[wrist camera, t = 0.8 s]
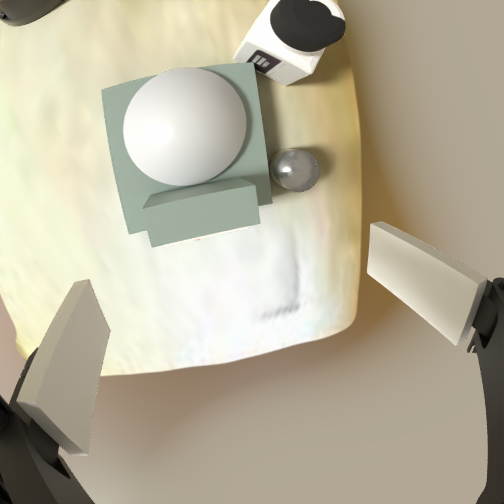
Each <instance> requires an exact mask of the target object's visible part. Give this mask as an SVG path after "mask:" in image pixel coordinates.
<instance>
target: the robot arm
mask: <svg viewBox="0 0 504 504" xmlns="http://www.w3.org/2000/svg"><path fill="white" fill-rule="evenodd" d="M62 1H63V0H0V20H1V21H3V22H4V23H6V24H8V25H10V26H21V25H25V24H28V23H30V22H33V21H35V20H37V19H38V18H40V17H42V16H43V15H45V14H47V13H48V12H50V11H51V10H52V9H54V8H55V7H56V6H57V5H59V4H60V3H61V2H62ZM367 273H368V274H369V275H370V276H371V277H373V278H374V279H376V280H377V281H378V282H379V283H381V284H382V285H383V286H384V287H386V288H387V289H388V290H389V291H391V292H392V293H393V294H394V295H396V296H397V297H398V298H399V299H401V300H402V301H403V302H404V303H406V304H407V305H408V306H409V307H411V308H412V309H413V310H414V311H415V312H417V313H418V314H419V315H420V316H421V317H423V318H424V319H425V320H426V321H427V322H429V323H430V324H431V325H432V326H433V327H435V328H436V329H437V330H438V331H439V332H441V333H442V334H443V335H444V336H445V337H446V338H447V339H449V340H450V341H451V342H452V343H453V344H454V345H455V346H457V345H458V344H460V343H461V342H463V341H464V340H465V339H467V336H468V334H469V331H470V329H471V327H472V326H473V327H474V328H475V329H476V330H475V333H474V335H473V337H472V340H471V342H470V344H469V346H468V348H467V352H470V350H471V348H472V346H474V345H475V347H474V349H473V352H472V353H477V355H478V360H479V365H480V370H481V376H482V383H483V389H484V397H485V406H486V417H487V434H488V468H487V482H486V486H485V489H484V491H483V492H482V494H481V495H480V497H479V498H478V500H477V503H476V504H504V278H496V279H494V280H493V283H492V282H490V281H489V280H488V278H487V277H485V276H483V275H481V274H480V273H478V272H477V271H475V270H473V269H471V268H470V267H468V266H466V265H464V264H463V263H461V262H460V261H458V260H456V259H454V258H452V257H451V256H449V255H447V254H445V253H443V252H442V251H440V250H438V249H436V248H434V247H432V246H430V245H429V244H426V243H425V242H423V241H421V240H419V239H417V238H415V237H413V236H411V235H409V234H407V233H405V232H403V231H401V230H399V229H397V228H395V227H393V226H391V225H389V224H387V223H384V222H382V221H381V222H376V223H371V227H370V243H369V257H368V268H367ZM110 331H111V330H110V328H109V326H108V324H107V322H106V319H105V317H104V315H103V312H102V310H101V308H100V305H99V303H98V300H97V298H96V296H95V293H94V290H93V288H92V285H91V283H90V280H89V279H88V280H83V281H78V282H75V283H74V284H73V286H72V288H71V289H70V291H69V293H68V294H67V296H66V298H65V299H64V301H63V303H62V305H61V306H60V308H59V310H58V312H57V313H56V315H55V317H54V319H53V321H52V323H51V325H50V326H49V328H48V330H47V332H46V334H45V336H44V338H43V340H42V342H41V344H40V346H39V348H36V349H35V351H34V352H33V353H32V354H31V355H30V356H29V358H28V360H27V362H26V364H25V367H24V368H25V369H23V371H22V373H21V378H19V380H18V383H17V385H16V387H15V390H14V393H13V395H12V398H11V400H10V403H9V405H8V403H7V402H6V401H5V400H4V399H3V398H2V396H1V395H0V504H95V503H94V502H93V501H92V499H91V498H90V497H89V495H88V494H87V493H86V492H85V490H84V489H83V487H82V486H81V485H80V483H79V482H78V480H77V479H76V478H75V476H74V475H73V473H72V472H71V470H70V469H69V467H68V466H67V464H66V462H65V461H64V459H63V458H62V457H61V456H60V455H59V454H58V449H59V446H60V447H62V448H63V449H64V450H65V451H66V452H67V453H69V454H71V455H84V456H88V455H89V444H90V435H91V427H92V419H93V413H94V406H95V400H96V395H97V389H98V384H99V379H100V374H101V369H102V364H103V360H104V356H105V351H106V347H107V343H108V339H109V335H110Z"/></svg>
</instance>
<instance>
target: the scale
mask: <svg viewBox="0 0 504 504" xmlns="http://www.w3.org/2000/svg"><path fill="white" fill-rule="evenodd" d="M102 100H103V108H104V116H105V123H106V130H107V137H108V143H109V149H110V154H111V160H112V165H113V170H114V175H115V179H116V184H117V188H118V193H119V197H120V201H121V205H122V209H123V213H124V217H125V221H126V225H127V229H128V232H129V234H133V233H137V232H141V231H145V230H147V231H148V235H149V239H150V243H151V246H152V247H157V246H161V245H164V247H166V246H170V245H174V244H179V243H183V242H188V241H192V240H199V239H201V238H206V237H210V236H215V235H219V234H224V233H228V232H233V231H238V230H242V229H247V228H249V226H252V225H256V224H260V217H259V209H258V206H261V205H266V204H272V203H273V202H272V194H271V185H270V177H269V169H268V161H267V153H266V145H265V138H264V131H263V123H262V116H261V109H260V102H259V95H258V88H257V82H256V75H255V68H254V62H249V63H234V64H223V65H214V66H206V67H198V68H177V69H173V70H169V71H166V72H163V73H161V74H159V75H154V76H150V77H146V78H142V79H138V80H134V81H130V82H126V83H123V84H119V85H116V86H112V87H109V88H106V89H103V90H102Z"/></svg>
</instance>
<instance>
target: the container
mask: <svg viewBox="0 0 504 504" xmlns="http://www.w3.org/2000/svg"><path fill="white" fill-rule="evenodd" d="M344 32H345V19H344V16H343V13H342V11H341V10H340V8H339V7H338V6H337V4H336V3H335V2H334V1H333V0H270V1H269V3H268V4H267V5H266V7H265V8H264V9H263V11H262V12H261V13H260V15H259V16H258V18H257V19H256V20H255V22H254V24H253V25H252V27H251V28H250V30H249V31H248V33H247V35H246V36H245V38H244V39H243V41H242V43H241V44H240V46H239V48H238V49H237V51H236V53H235V54H234V56H233V60H234V61H235V62H238V63H249V62H254V68H255V71H257V72H259V73H261V74H263V75H265V76H267V77H269V78H271V79H273V80H275V81H276V82H278V83H280V84H282V85H284V86H287V85H289V84H292V83H294V82H296V81H298V80H300V79H302V78H304V77H306V76H308V75H311V74H312V73H313V72H314V70H315V68H316V66H317V64H318V62H319V60H320V58H321V56H322V54H323V52H324V50H325V48H326V47H327V46H329V45H331V44H333V43H335V42H337V41H338V40H339V39H341V37H342V36H343V34H344Z"/></svg>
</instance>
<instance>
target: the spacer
mask: <svg viewBox="0 0 504 504" xmlns="http://www.w3.org/2000/svg"><path fill="white" fill-rule="evenodd" d="M269 172H270V175H271V177H272V179H273V180H274V182H276V183H277V184H278V185H280V186H283V187H285V188H287V189H290V190H292V191H295V192H303V191H307V190H309V189H310V188H312V187H313V186H314V184H315V183H316V182H317V179H318V177H319V164H318V161H317V160H316V158H315V157H314V155H313V154H311V153H310V152H308V151H306V150H299V149H283V150H280V151H278V152H277V153H276V154H274V156H273V157H272V159H271V161H270V164H269Z"/></svg>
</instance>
